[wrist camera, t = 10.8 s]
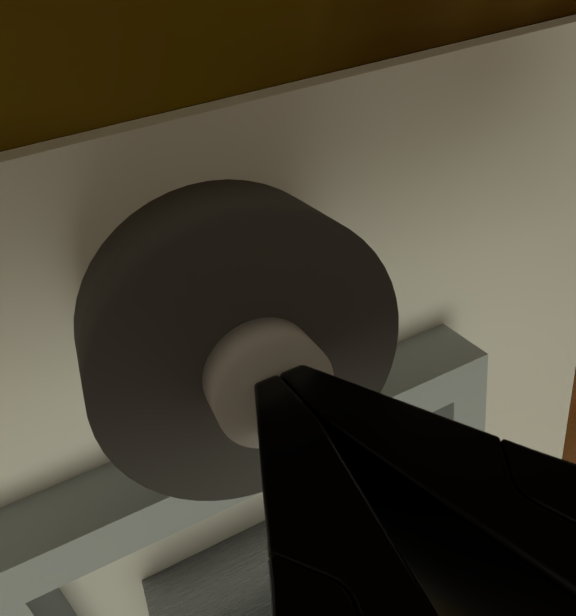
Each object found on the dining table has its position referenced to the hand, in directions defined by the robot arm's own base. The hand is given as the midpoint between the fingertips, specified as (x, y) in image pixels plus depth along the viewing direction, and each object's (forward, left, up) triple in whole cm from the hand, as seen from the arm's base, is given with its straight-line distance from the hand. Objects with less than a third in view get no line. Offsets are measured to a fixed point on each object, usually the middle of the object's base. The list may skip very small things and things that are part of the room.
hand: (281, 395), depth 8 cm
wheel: (0, 0, -3) cm, 3 cm away
